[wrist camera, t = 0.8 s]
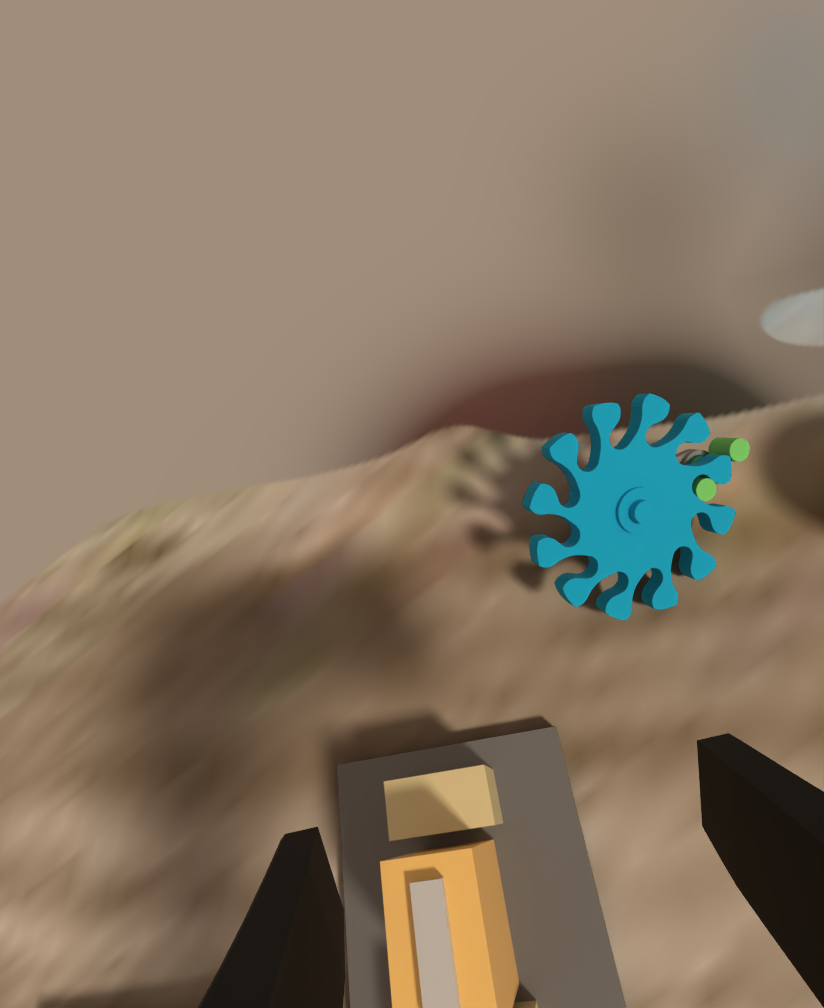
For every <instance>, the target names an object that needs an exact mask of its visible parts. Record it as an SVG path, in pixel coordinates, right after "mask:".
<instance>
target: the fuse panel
mask: <svg viewBox="0 0 824 1008" xmlns="http://www.w3.org/2000/svg"><path fill="white" fill-rule="evenodd" d="M337 777H338V795H339V813H340V831H341V849H342V867H343V886H344V904H345V922H346V940H347V958H348V976H349V994H350V1008H392V998H391V986H390V974H389V963H388V951H387V939H386V927H385V915H384V904H383V892H382V880H381V868H380V861H384V860H387V859H391V858H395V857H398V856H402V855H406V854H409V853H413V852H417V851H421V850H426V849H433V848H439V847H446V846H453V845H460V844H466V843H473V842H480V841H487V840H493V839H494V843H495V849H496V854H497V860H498V866H499V871H500V877H501V883H502V888H503V894H504V900H505V905H506V911H507V916H508V922H509V928H510V933H511V939H512V945H513V950H514V956H515V961H516V967H517V973H518V978H519V987H518V990H517V994H516V997H515V1001H514V1004H513V1008H626V1005H625V1001H624V997H623V993H622V989H621V985H620V981H619V977H618V973H617V969H616V965H615V961H614V957H613V953H612V949H611V945H610V941H609V937H608V933H607V929H606V925H605V921H604V917H603V913H602V909H601V905H600V901H599V897H598V893H597V889H596V885H595V881H594V877H593V873H592V869H591V865H590V861H589V857H588V853H587V849H586V845H585V841H584V837H583V833H582V829H581V825H580V821H579V817H578V813H577V809H576V805H575V801H574V797H573V793H572V789H571V785H570V781H569V777H568V773H567V769H566V765H565V761H564V757H563V753H562V749H561V745H560V741H559V737H558V733H557V729H556V726H554V727H549V728H543V729H537V730H532V731H526V732H520V733H515V734H509V735H503V736H498V737H492V738H486V739H480V740H475V741H469V742H463V743H458V744H452V745H446V746H441V747H435V748H429V749H424V750H418V751H412V752H406V753H401V754H395V755H389V756H384V757H378V758H372V759H367V760H361V761H355V762H349V763H344V764H338V765H337Z"/></svg>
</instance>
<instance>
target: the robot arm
mask: <svg viewBox="0 0 824 1008" xmlns="http://www.w3.org/2000/svg"><path fill="white" fill-rule="evenodd" d="M697 748H698V764H699V780H700V796H701V812H702V826H703V828H704V830H705V832H706V834H707V835H708V837H709V839H710V841H711V842H712V844H713V846H714V848H715V850H716V851H717V853H718V855H719V857H720V858H721V860H722V862H723V864H724V865H725V867H726V869H727V870H728V872H729V874H730V875H731V877H732V879H733V880H734V882H735V884H736V886H737V887H738V888H739V890H740V891H741V893H742V894H743V896H744V897H745V898H746V900H747V901H748V903H749V904H750V906H751V907H752V908H753V910H754V911H755V913H756V914H757V915H758V917H759V918H760V920H761V921H762V922H763V924H764V925H765V927H766V928H767V929H768V931H769V932H770V934H771V935H772V936H773V938H774V939H775V941H776V942H777V943H778V945H779V946H780V948H781V949H782V950H783V952H784V953H785V955H786V956H787V957H788V959H789V960H790V961H791V963H792V964H793V966H794V967H795V968H796V970H797V971H798V973H799V974H800V975H801V977H802V978H803V980H804V981H805V982H806V984H807V985H808V986H809V988H810V989H811V991H812V992H813V993H814V995H815V996H816V998H817V999H818V1000H819V1002H820V1003H821V1005H822V1006H823V1007H824V792H823V791H821V790H820V789H818V788H816V787H815V786H813V785H812V784H810V783H808V782H807V781H805V780H803V779H802V778H800V777H799V776H797V775H795V774H794V773H792V772H790V771H789V770H787V769H786V768H784V767H782V766H781V765H779V764H778V763H776V762H774V761H773V760H771V759H770V758H768V757H766V756H765V755H763V754H762V753H760V752H758V751H757V750H755V749H754V748H752V747H750V746H749V745H747V744H746V743H744V742H742V741H741V740H739V739H737V738H736V737H734V736H732V735H731V734H729V733H728V734H723V735H719V736H714V737H710V738H706V739H701V740H697ZM344 982H345V951H344V909H343V906H342V903H341V900H340V896H339V893H338V890H337V887H336V884H335V880H334V877H333V874H332V871H331V868H330V865H329V861H328V858H327V855H326V852H325V849H324V845H323V842H322V839H321V836H320V833H319V830H318V827H314V828H310V829H306V830H301V831H297V832H292V833H288V834H285V835H284V836H283V838H282V839H281V841H280V843H279V845H278V848H277V850H276V852H275V854H274V857H273V859H272V861H271V863H270V866H269V868H268V870H267V872H266V874H265V877H264V879H263V881H262V883H261V885H260V887H259V890H258V892H257V894H256V896H255V898H254V900H253V902H252V904H251V906H250V908H249V911H248V913H247V915H246V917H245V919H244V921H243V923H242V925H241V927H240V929H239V931H238V933H237V935H236V937H235V939H234V941H233V943H232V945H231V947H230V949H229V951H228V953H227V955H226V957H225V959H224V961H223V963H222V964H221V966H220V968H219V970H218V972H217V974H216V976H215V978H214V980H213V981H212V983H211V985H210V987H209V989H208V990H207V992H206V994H205V996H204V998H203V999H202V1001H201V1003H200V1005H199V1007H198V1008H343V997H344Z"/></svg>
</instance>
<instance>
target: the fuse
mask: <svg viewBox="0 0 824 1008" xmlns="http://www.w3.org/2000/svg"><path fill="white" fill-rule="evenodd" d="M380 868H381V880H382V892H383V904H384V915H385V927H386V939H387V951H388V963H389V974H390V986H391V998H392V1008H513V1004H514V1001H515V997H516V994H517V990H518V987H519V978H518V973H517V967H516V961H515V956H514V950H513V945H512V939H511V933H510V928H509V922H508V916H507V911H506V905H505V900H504V894H503V888H502V883H501V877H500V871H499V866H498V860H497V854H496V849H495V843H494V839H493V840H487V841H480V842H473V843H466V844H460V845H453V846H446V847H439V848H433V849H426V850H421V851H417V852H413V853H409V854H406V855H402V856H398V857H395V858H391V859H387V860H384V861H380Z"/></svg>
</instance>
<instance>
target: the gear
mask: <svg viewBox="0 0 824 1008" xmlns="http://www.w3.org/2000/svg"><path fill="white" fill-rule="evenodd" d="M669 408H670V405H669V404H668V403H667V401H665V400H664V399H662V398H660V397H658V396H656V395H653V394H638V395H637V396H636V397H635V398H634V400H633V402H632V405H631V420H630V424H629V427H628V429H627V431H626V433H625V435H624V436H623V438H622V439H621V441H620V442H619V443H618V445H617V446H616V447H614V448H613V447H612V446H611V444H610V441H609V436H610V433H611V431H612V430H613V428H614V427H615V426H616V424H617V423H618V421H619V419H620V414H621V412H620V407H619V405H618V404H615V403H600V404H593V405H588V406H585V407H584V409H583V420H584V422H585V424H586V426H587V428H588V430H589V433H590V438H591V452H590V458H589V462H588V464H587V466H586V467H585V468H584V469H582V470H581V469H580V468H579V467H578V465H577V456H578V450H579V445H578V441H577V439H576V437H575V436H574V435H573V434H571V433H559V434H557V435H555V436H553V437H552V438H551V439H549V440H548V441H547V442H546V443H545V444H544V445H543V446H542V447H541V449H542V453H543V456H544V457H545V458H546V459H547V460H549V461H551V462H553V463H554V464H556V465H557V466H558V467H559V468H560V469H561V470H562V471H563V473H564V474H565V476H566V478H567V480H568V483H569V486H570V491H569V501H568V502H567V503H566V504H564V505H561V504H560V503H559V500H558V497H557V495H556V492H555V490H554V489H553V488H552V487H551V486H550V485H547V484H544V483H540V482H532V484H531V485H530V486H529V488H528V489H527V491H526V494H525V496H524V500H523V503H522V506H523V507H524V508H525V509H526V510H528V511H531V512H533V513H536V514H540V515H543V514H556V515H558V516H559V517H561V518H562V519H564V520H565V521H566V522H567V523H568V524H569V525H570V527H571V535H570V537H569V539H568V540H567V541H566V542H564V543H559V542H557V541H556V540H555V539H553V538H551V537H548V536H546V535H544V534H536V535H533V536H532V537H531V538H530V545H529V549H530V556H531V561H532V562H534V563H535V564H537V565H539V566H541V567H546V568H547V567H551V566H553V565H554V564H556V563H557V562H558V561H560V560H562V559H564V558H566V557H569V556H574V555H586V556H588V559H589V564H588V567H587V569H586V570H585V571H584V572H582V573H579V574H574V573H565V574H562V575H560V576H559V577H558V578H557V579H556V581H555V582H554V583H555V586H556V589H557V590H558V592H559V593H560V595H561V596H562V597H563V598H564V599H565V600H566V601H567V602H568V603H570V604H571V605H573V606H574V607H577V606H580V605H582V604H583V603H584V602H585V601H586V600H587V598H588V596H589V594H590V592H591V591H592V589H593V588H594V587H595V585H596V584H597V583H598V582H600V581H601V580H602V579H604V578H605V577H607V576H609V575H611V574H613V573H615V572H618V581H617V583H616V584H615V585H614V586H613V587H612V588H610V589H607V590H605V591H604V592H602V593H601V594H600V595H599V596H598V598H597V601H596V607H598V608H599V609H600V610H602V611H603V612H605V613H607V614H608V615H610V616H612V617H614V618H617V619H620V620H626V619H627V618H628V617H629V616H630V614H631V611H632V597H633V593H634V590H635V588H636V585H637V584H638V582H639V580H640V579H641V578H642V576H643V575H644V574H645V572H646V571H647V570H649V569H651V570H652V576H651V578H650V580H649V581H648V583H647V584H646V585H645V587H644V588H643V591H642V601H643V603H645V604H646V605H648V606H650V607H652V608H654V609H666V608H670V607H673V606H676V604H677V601H678V594H677V591H676V590H675V588H674V586H673V583H672V579H671V564H672V559H673V554H674V552H675V551H676V550H677V549H678V548H679V547H680V550H681V554H680V559H679V569H680V571H681V573H682V574H684V575H685V576H688V577H690V578H693V579H696V580H700V579H702V578H703V577H705V576H706V575H708V574H709V573H710V572H711V571H712V570H713V569H714V568H715V567H716V562H715V559H714V558H713V556H711V555H710V554H708V553H706V552H705V551H703V550H702V549H701V548H700V547H699V546H698V544H697V543H696V541H695V539H694V536H693V533H692V530H691V520H692V518H693V517H694V516H695V515H696V514H697V516H698V519H699V523H700V525H701V527H702V528H703V529H704V530H707V531H710V532H714V533H718V534H726V532H727V531H728V530H729V528H730V526H731V524H732V522H733V519H734V516H735V513H736V512H735V511H734V509H732V508H731V507H729V506H724V505H719V504H706V503H704V502H703V501H708V500H710V499H712V498H713V497H714V495H715V493H716V484H725V483H728V482H729V481H730V478H731V471H732V470H731V461H737V462H740V461H743V460H745V459H746V458H747V456H748V454H749V451H750V446H749V443H748V442H747V441H746V440H745V439H742V438H715V439H714V440H712V442H711V443H710V445H709V453H708V452H707V451H704V450H694V449H688V450H685V451H683V452H680V453H678V454H676V450H677V448H678V446H679V445H680V444H682V443H683V442H687V443H701V442H703V441H705V440H706V439H707V438H708V437H709V435H710V430H709V427H708V425H707V423H706V421H705V420H704V418H703V417H702V416H701V414H700V413H685V414H682V415H680V416H679V417H677V419H676V420H675V422H674V424H673V426H672V428H671V429H670V431H669V432H668V433H667V434H666V435H665V436H664V437H663V438H662V439H661V440H659V441H657V442H655V443H653V444H651V445H649V444H648V443H647V441H646V432H647V430H648V428H649V427H650V426H651V425H653V424H655V423H657V422H659V421H661V420H663V419H664V418H665V417H666V416H667V414H668V412H669ZM715 483H716V484H715ZM701 500H702V501H701Z"/></svg>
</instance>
